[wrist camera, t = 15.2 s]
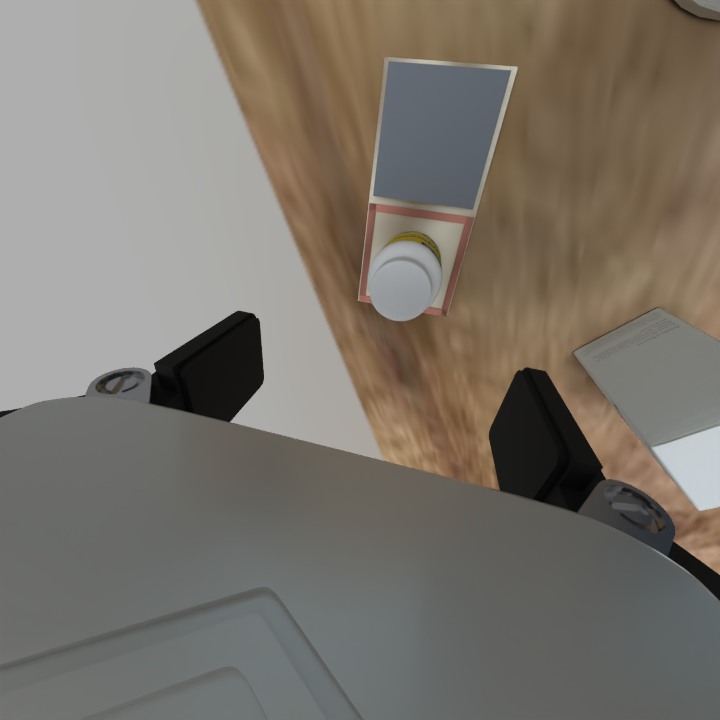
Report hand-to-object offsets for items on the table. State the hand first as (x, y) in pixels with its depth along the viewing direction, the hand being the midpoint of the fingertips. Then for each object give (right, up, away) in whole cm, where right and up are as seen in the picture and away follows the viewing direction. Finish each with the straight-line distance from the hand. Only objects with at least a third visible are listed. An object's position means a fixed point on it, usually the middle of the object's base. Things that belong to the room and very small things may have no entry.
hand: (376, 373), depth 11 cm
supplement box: (+25, +1, +17) cm, 30 cm away
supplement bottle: (+4, +10, +16) cm, 20 cm away
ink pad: (+5, +17, +12) cm, 21 cm away
